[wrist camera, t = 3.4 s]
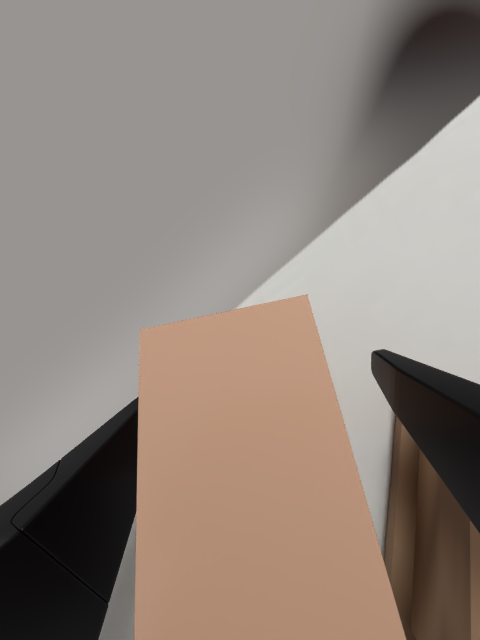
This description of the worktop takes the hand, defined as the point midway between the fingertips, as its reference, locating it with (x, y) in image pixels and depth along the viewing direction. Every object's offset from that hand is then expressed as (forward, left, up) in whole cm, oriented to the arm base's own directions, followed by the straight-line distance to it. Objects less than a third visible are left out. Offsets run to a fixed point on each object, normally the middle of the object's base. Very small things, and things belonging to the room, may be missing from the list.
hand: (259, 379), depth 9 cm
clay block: (-1, -1, -7) cm, 7 cm away
